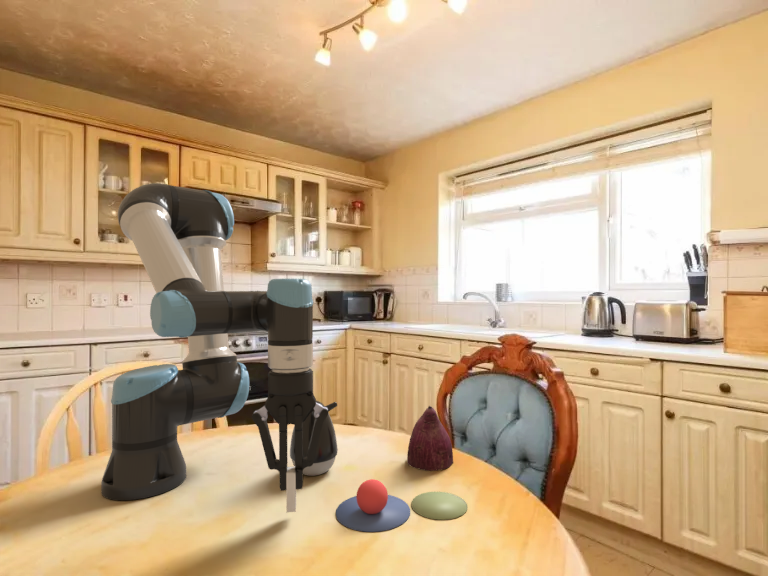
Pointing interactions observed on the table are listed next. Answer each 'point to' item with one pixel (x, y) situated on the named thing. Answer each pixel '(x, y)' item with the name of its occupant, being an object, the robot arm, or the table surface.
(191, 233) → the robot arm
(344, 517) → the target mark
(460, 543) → the table surface
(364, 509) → the ball
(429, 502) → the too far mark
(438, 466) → the vegetable
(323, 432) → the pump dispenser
